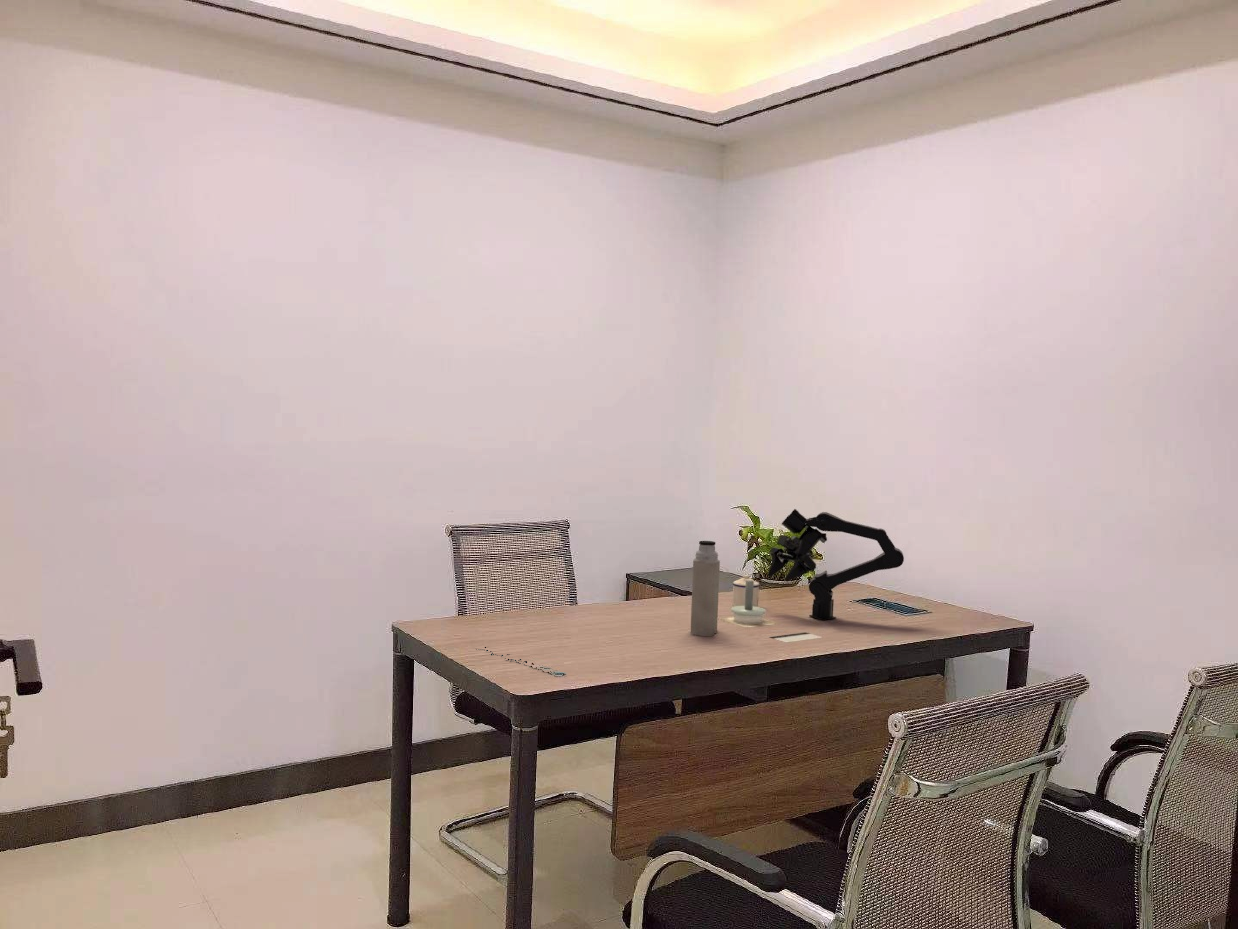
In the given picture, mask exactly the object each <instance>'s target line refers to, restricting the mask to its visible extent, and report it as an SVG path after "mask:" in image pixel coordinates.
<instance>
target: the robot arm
mask: <svg viewBox="0 0 1238 929" xmlns="http://www.w3.org/2000/svg"><path fill="white" fill-rule="evenodd" d="M781 525H782V526H783V527H785V528H786V529H787V530H788V531H789V532H791V534H793V535H792V536H788V535H783V534H779V537H778V540H777V541H776V545H780V546H781V547H783V548H779V547H774V546H773V547H771V548H770V550H769V552H768V553H769V554H770V557H771V563H770V567H769V569H768V572H767V576H768V577H772V576H773V575H775V574H776V573H778V572H779V571H781V570H782V569H784V568H785V567H786V566H785V565H787V564H788V563H789V562H793V566H792V567H791V568H790V570H789V572H788V573H787V575H786V576H785V578H784V581H785V582H789V581H791V580H793V579H796V578H798V577H800V576H803V575H805V574H809V573H814V571H815V570H816V568H817V563H816V562H815V561H814V560H813V558H812V557H811V556H810V555H813V553H814V552H813V551H812V550H813V549H814V548H815V546H817V544H818V543H819V541H820V542H821V543H823V544H825V543H826V542H827V541H828V538H827V533H824V532H833V533H835V532H837V533H840V532H841V533H845V534H848V535H854V536H858V537H861V538H866V539H870V540H874V541H876V542H877V544H878V545H879V546H880V548H881V551H883V552H881V553H880V554H878V555H877V556H876V557H874V558H872V559H870V560H866V561H865V562H862V563H859V564H856V565H853V566H850V567H848V568H846V569H843V570H840V571H837V572H834V573H828V571H827V570H824V571H823V572H821V573H815V574H814V576H813V577H812V578H811V579H810V582H809V584H808V591H809V592H810V594H811V595H813V596H814V598H813V600H812V601H813V602H812V610H811V612H812V613H811V614H809V618H813V619H818V620H820V619H821V621H827V619H828V620H835V619H837V616H834V602H835V601H834V599H833V596H834V591H833V589H835V588H836V587H837V586H839V585H840V586H841V585H843V584H844V583H847V582H850V581H853V580H856V579H859V578H861V577H864V576H866V575H869V574H872V573H874V572H877V571H883V570H891V569H897V568H899V567H901V566H902V565H903V564H904V560H905V557H904V553H903V552H902V550H900V549H899V548H898V547H896V546H895V545H894V543H893V541H892V540H891V539H890V537H889V535H888V534H887V531H886V530H885V529H883V528H877V527H873V526H869V525H864V524H860V523H857V522H853V521H848V520H845V519H842V518H841V517H838V516H836V515H835V514H832V513H830V512H828V511H825V512H824V511H822V512H820V513H818V514H816V516H814V517H809V518H806V517H805V516H804V515H802V513H800V512H799V510H797V509H796V508H794V509H793V510H792V512H791V513H789V514H788V515H787V517H786V518H784V520H783V521H782V522H781ZM803 530H804V531H803ZM802 531H803V532H802ZM801 532H802V533H801ZM822 532H823V533H822ZM796 534H798V535H800V536H799V537H798V536H796Z"/></svg>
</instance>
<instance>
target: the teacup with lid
mask: <svg viewBox="0 0 1238 929" xmlns="http://www.w3.org/2000/svg"><path fill="white" fill-rule="evenodd" d="M746 580H751V581H754V587H753V606H755V607H759V593H760V592H759V590H760V589H759V588H760V583H759V581H755V580H754V579H753V578H751V577H750V575H749V574H744V575H743V577H741V578H739V579H737V580H734V581H733V582H732V585H733V587H732V588H733V590H732V607H734V606H745V587H746Z"/></svg>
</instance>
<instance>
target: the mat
mask: <svg viewBox="0 0 1238 929" xmlns="http://www.w3.org/2000/svg"><path fill="white" fill-rule="evenodd" d="M768 638H770V639H773V640H777V641H780V642H783V643H793V642H799V641H808V640H815V639H821V638H823V637H822V636H820V635H816V634H812V633H808V632H799V633H792V634H791V633H790V634H783V635H782V634H781V635H775V636H769V637H768Z"/></svg>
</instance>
